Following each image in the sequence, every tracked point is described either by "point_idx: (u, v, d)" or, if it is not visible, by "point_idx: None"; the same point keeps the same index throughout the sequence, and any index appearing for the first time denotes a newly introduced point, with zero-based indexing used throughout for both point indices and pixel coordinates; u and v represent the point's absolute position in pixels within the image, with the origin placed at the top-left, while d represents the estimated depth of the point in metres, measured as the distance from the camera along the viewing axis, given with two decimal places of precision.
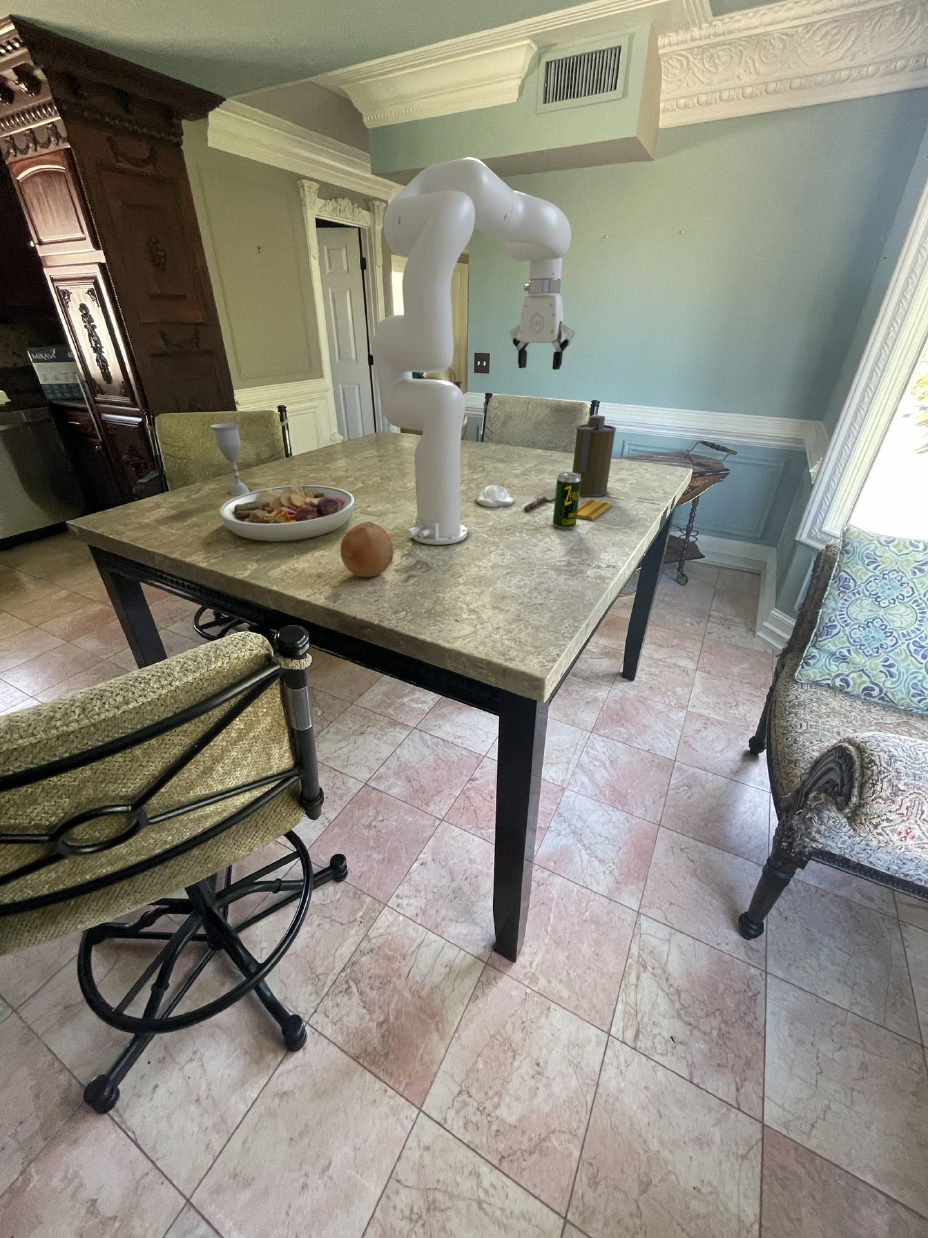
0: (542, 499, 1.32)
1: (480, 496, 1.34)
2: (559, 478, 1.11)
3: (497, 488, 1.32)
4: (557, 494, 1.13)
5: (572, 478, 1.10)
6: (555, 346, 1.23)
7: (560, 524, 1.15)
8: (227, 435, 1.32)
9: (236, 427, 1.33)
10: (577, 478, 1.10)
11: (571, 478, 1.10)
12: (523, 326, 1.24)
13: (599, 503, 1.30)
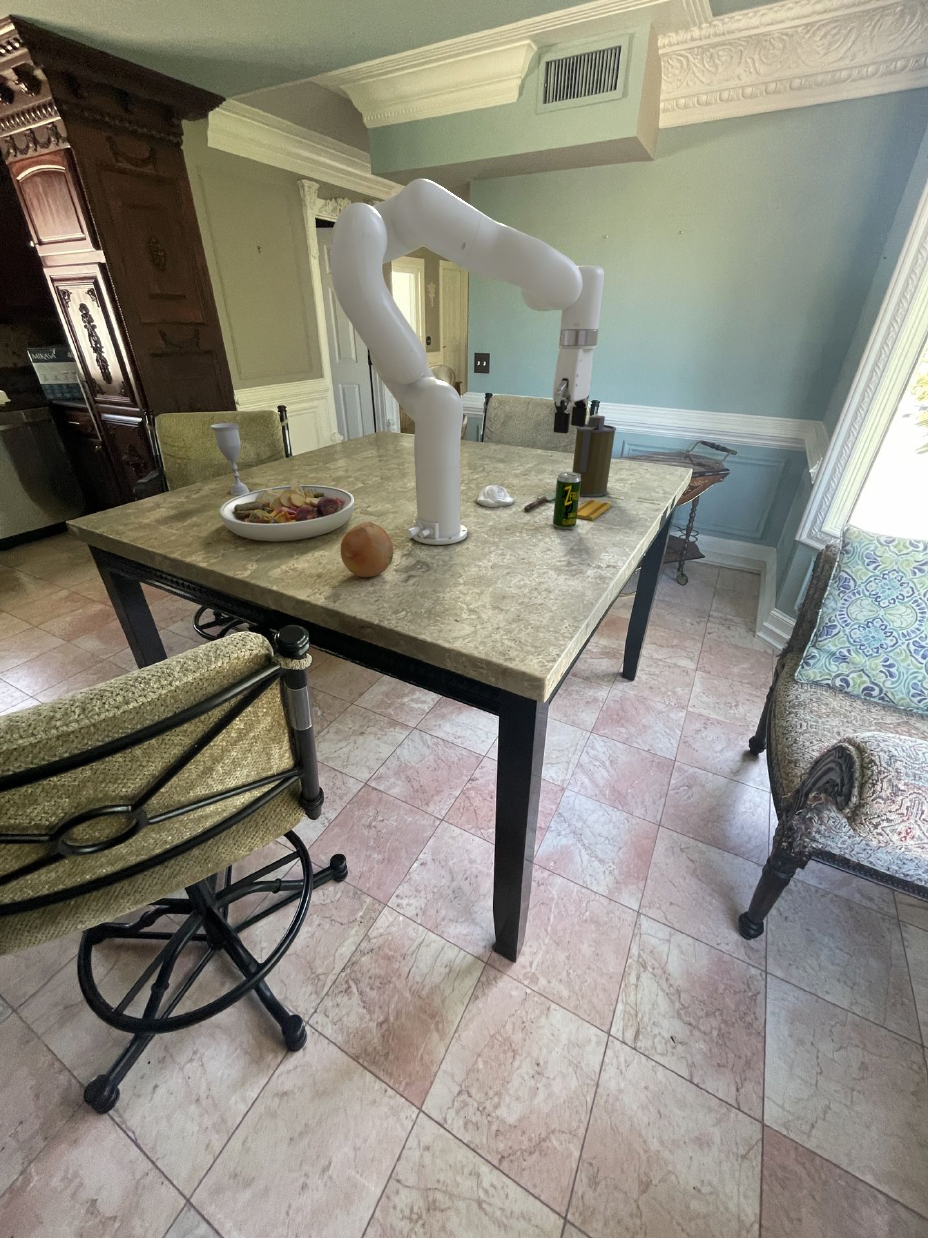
0: (542, 499, 1.32)
1: (480, 496, 1.34)
2: (559, 478, 1.11)
3: (497, 488, 1.32)
4: (557, 494, 1.13)
5: (572, 478, 1.10)
6: None
7: (560, 524, 1.15)
8: (227, 435, 1.32)
9: (236, 427, 1.33)
10: (577, 478, 1.10)
11: (571, 478, 1.10)
12: None
13: (599, 503, 1.30)
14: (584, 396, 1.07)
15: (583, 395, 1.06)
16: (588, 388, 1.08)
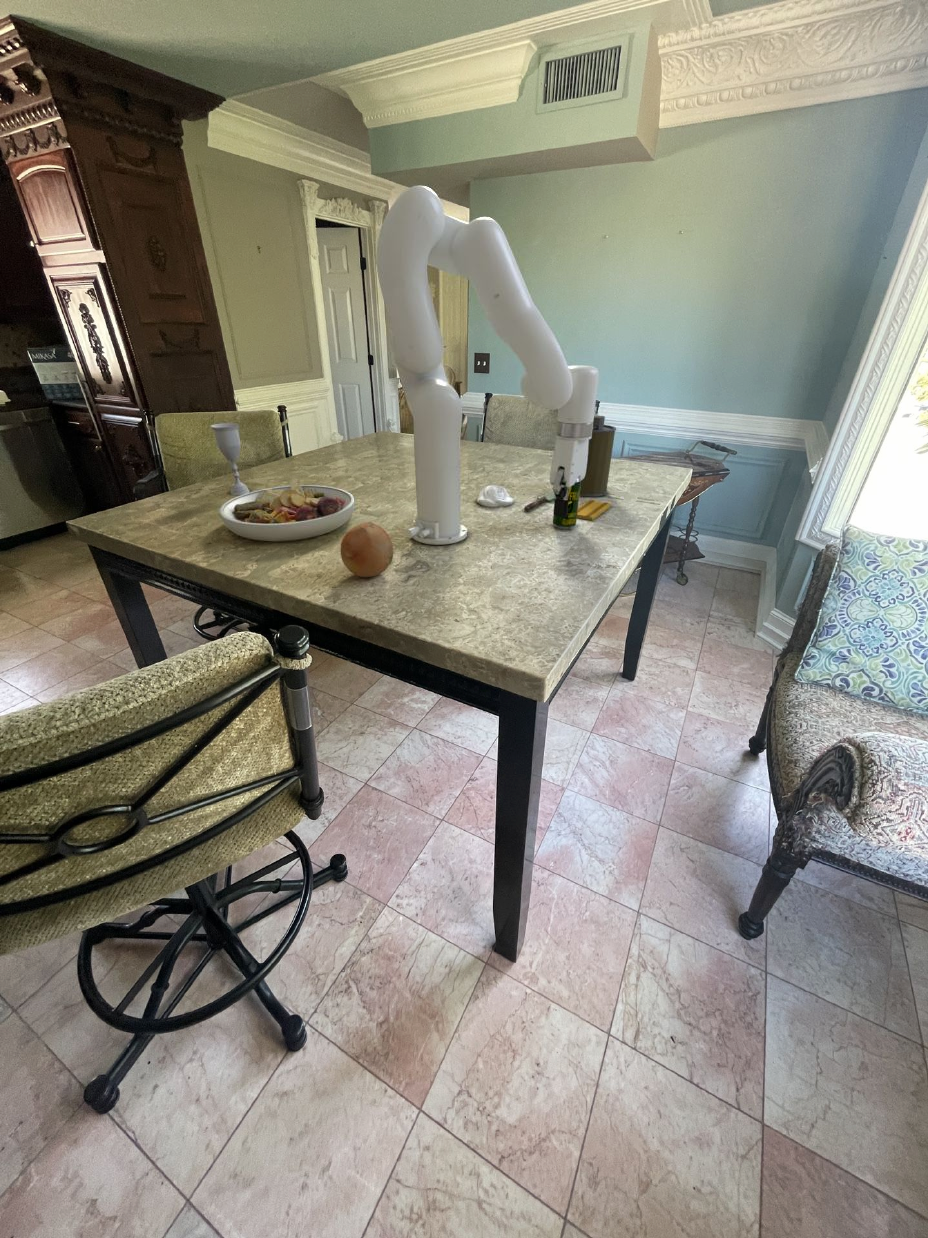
0: (542, 499, 1.32)
1: (480, 496, 1.34)
2: None
3: (497, 488, 1.32)
4: None
5: None
6: None
7: (560, 524, 1.15)
8: (227, 435, 1.32)
9: (236, 427, 1.33)
10: (577, 478, 1.10)
11: None
12: None
13: (599, 503, 1.30)
14: None
15: None
16: (584, 471, 1.13)
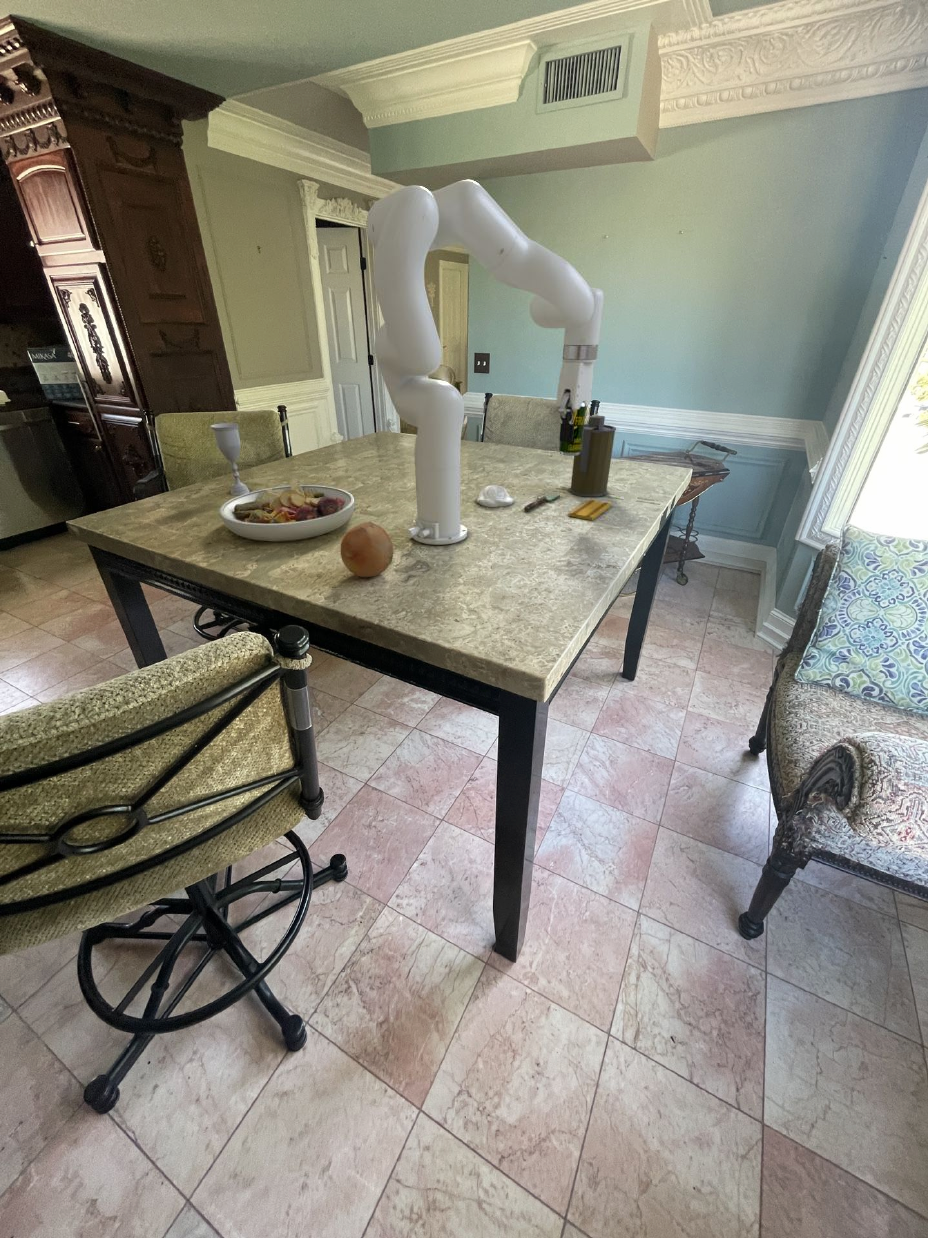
0: (542, 499, 1.32)
1: (480, 496, 1.34)
2: None
3: (497, 488, 1.32)
4: None
5: None
6: None
7: (566, 450, 1.19)
8: (227, 435, 1.32)
9: (236, 427, 1.33)
10: (582, 402, 1.14)
11: None
12: None
13: (599, 503, 1.30)
14: None
15: None
16: (589, 398, 1.17)
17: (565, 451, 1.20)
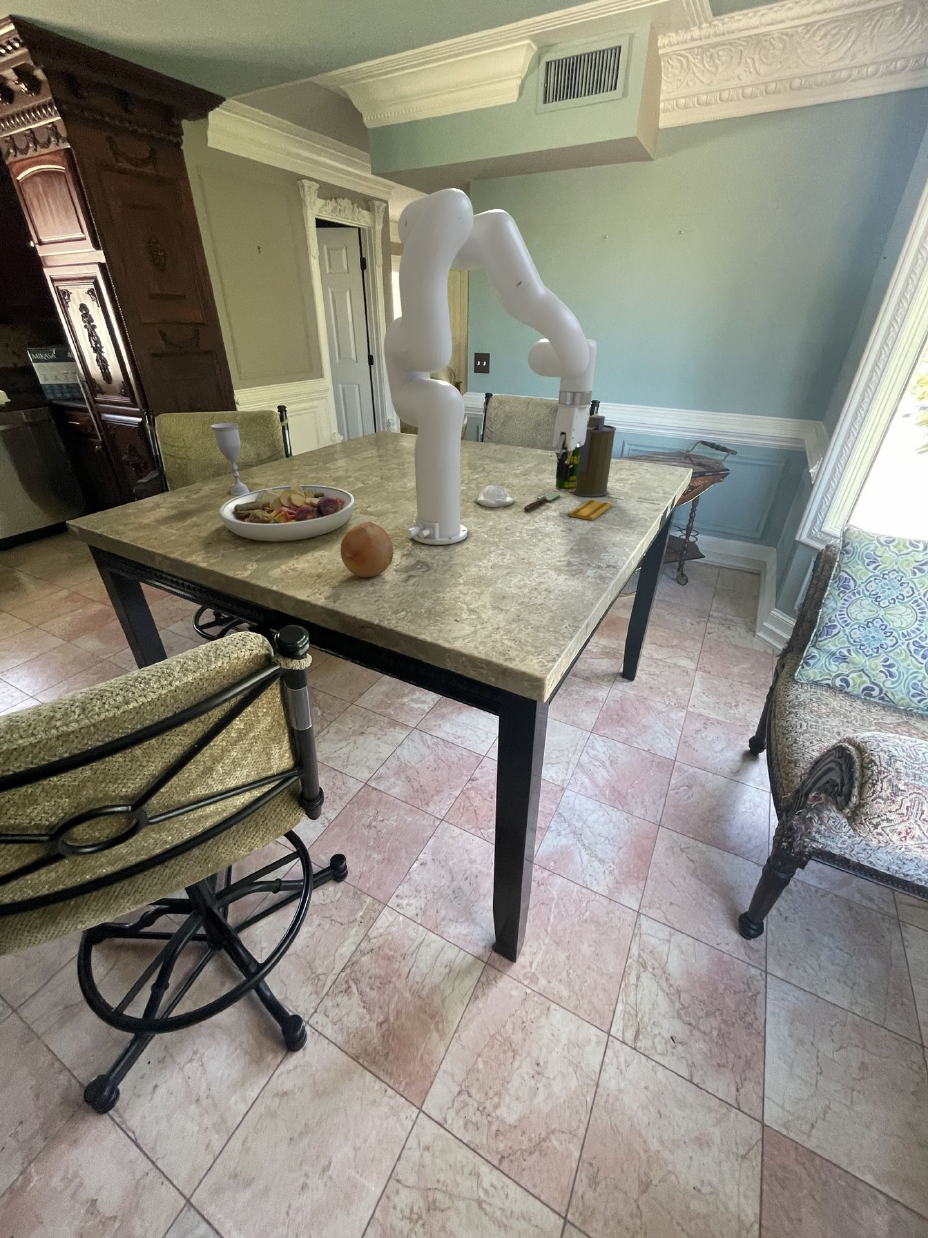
0: (542, 499, 1.32)
1: (480, 496, 1.34)
2: None
3: (497, 488, 1.32)
4: None
5: None
6: None
7: (562, 487, 1.26)
8: (227, 435, 1.32)
9: (236, 427, 1.33)
10: (578, 443, 1.21)
11: None
12: None
13: (599, 503, 1.30)
14: None
15: None
16: (584, 438, 1.24)
17: (561, 488, 1.26)
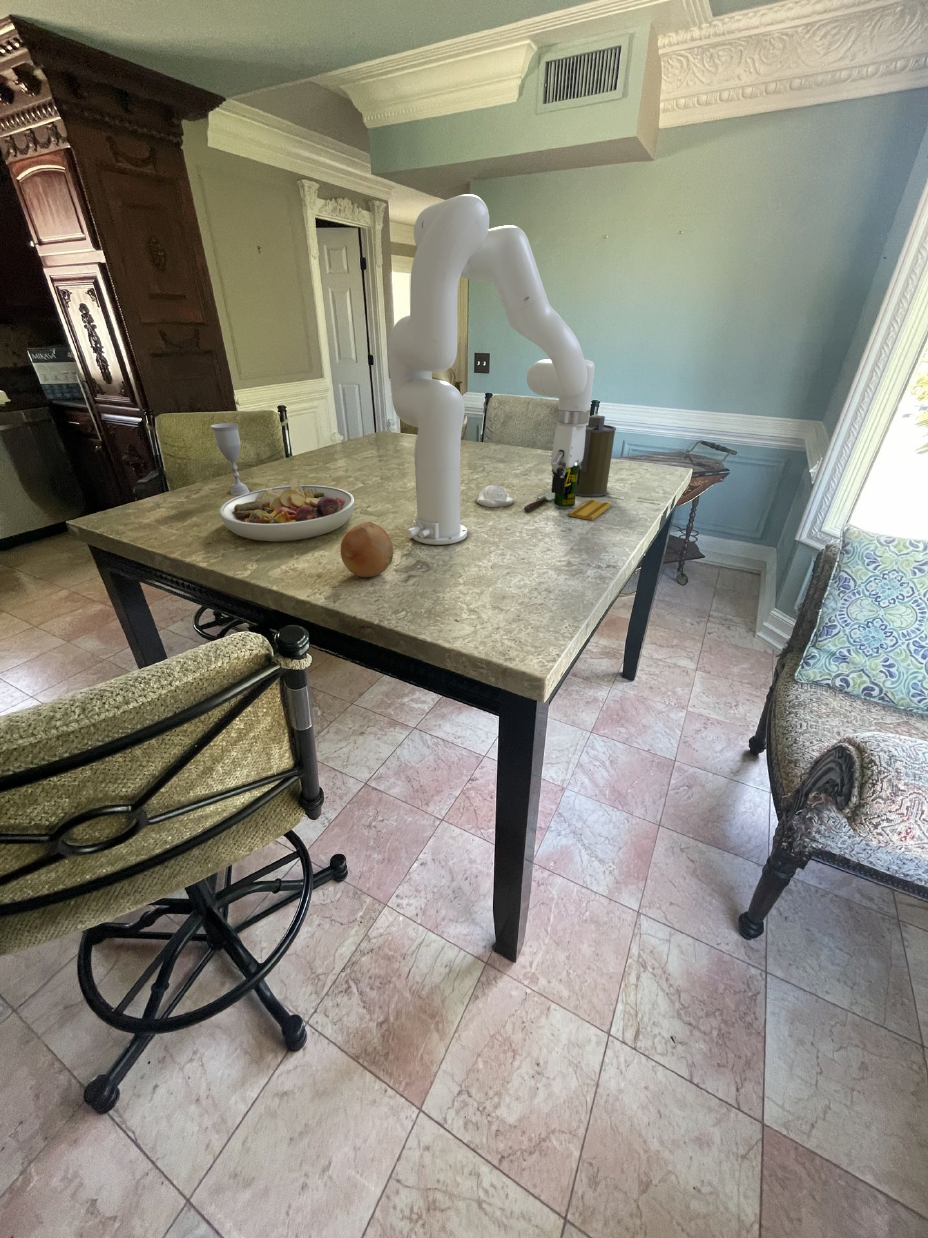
0: (542, 499, 1.32)
1: (480, 496, 1.34)
2: None
3: (497, 488, 1.32)
4: None
5: None
6: None
7: (560, 504, 1.28)
8: (227, 435, 1.32)
9: (236, 427, 1.33)
10: (575, 462, 1.23)
11: None
12: None
13: (599, 503, 1.30)
14: None
15: None
16: (582, 455, 1.26)
17: (559, 505, 1.28)
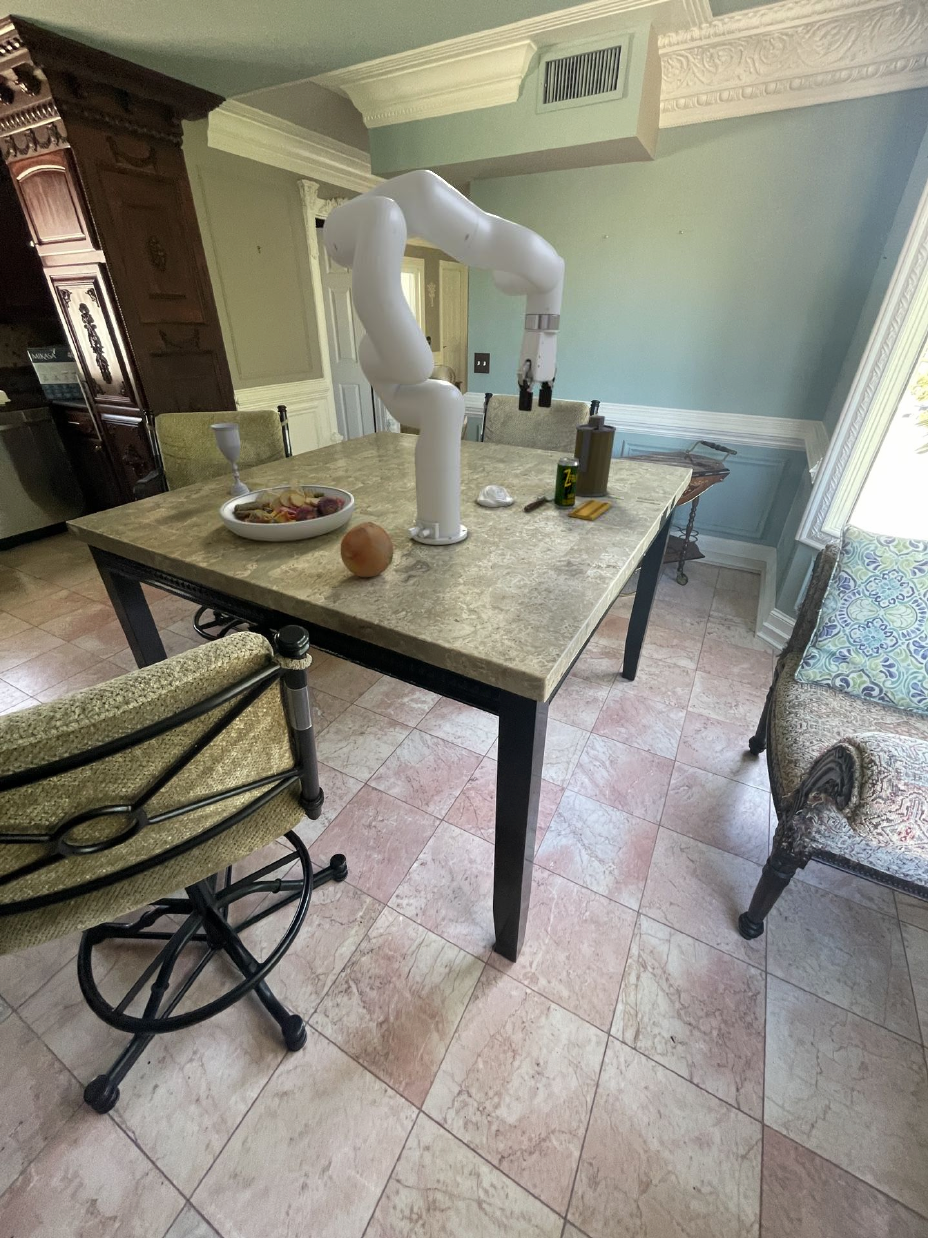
0: (542, 499, 1.32)
1: (480, 496, 1.34)
2: (559, 462, 1.24)
3: (497, 488, 1.32)
4: (558, 477, 1.26)
5: (571, 462, 1.23)
6: None
7: (560, 504, 1.28)
8: (227, 435, 1.32)
9: (236, 427, 1.33)
10: (575, 462, 1.23)
11: (570, 462, 1.23)
12: None
13: (599, 503, 1.30)
14: (548, 378, 1.15)
15: (547, 377, 1.14)
16: (553, 371, 1.16)
17: (559, 505, 1.28)
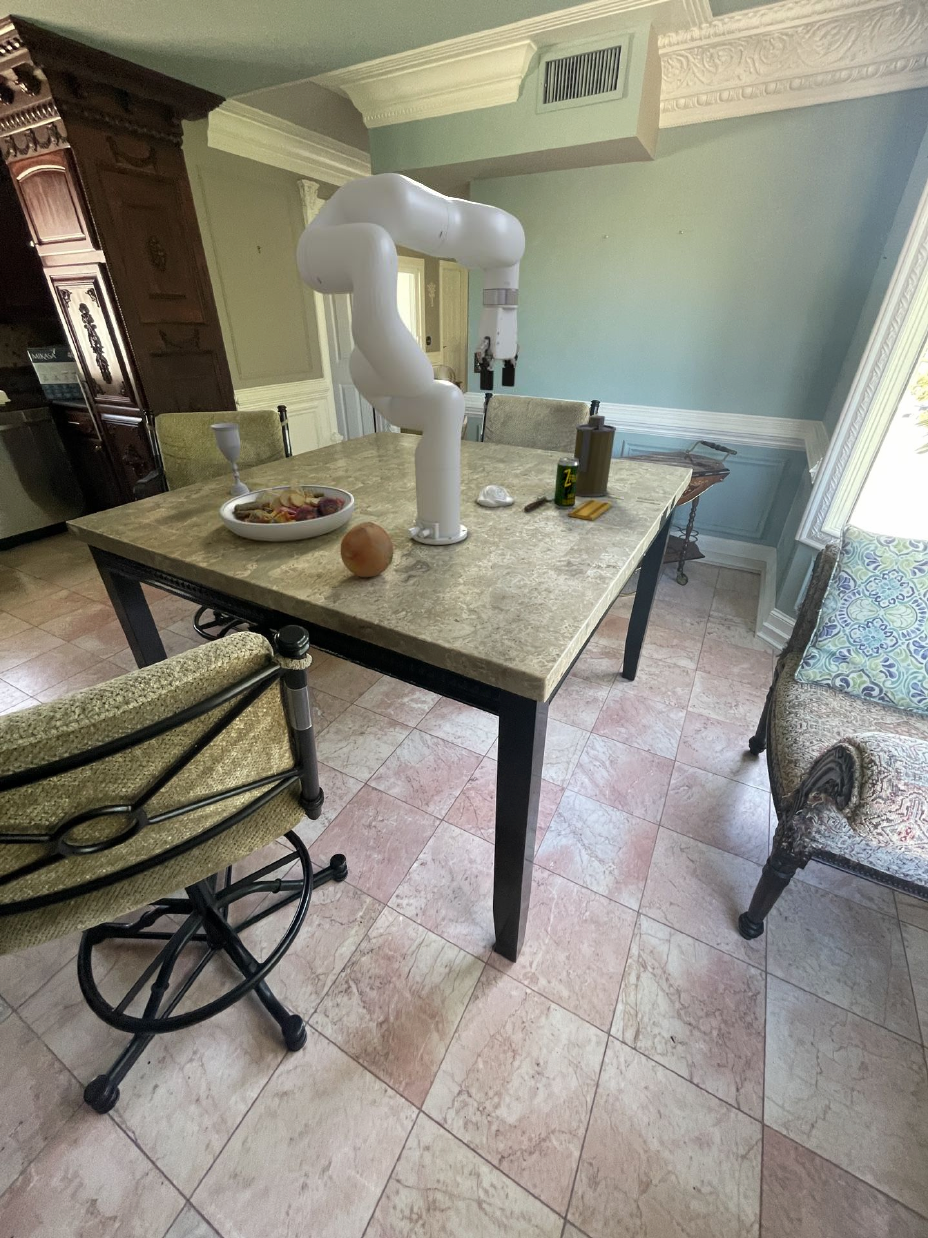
0: (542, 499, 1.32)
1: (480, 496, 1.34)
2: (559, 462, 1.24)
3: (497, 488, 1.32)
4: (558, 477, 1.26)
5: (571, 462, 1.23)
6: None
7: (560, 504, 1.28)
8: (227, 435, 1.32)
9: (236, 427, 1.33)
10: (575, 462, 1.23)
11: (570, 462, 1.23)
12: None
13: (599, 503, 1.30)
14: (509, 355, 1.12)
15: (508, 354, 1.12)
16: (514, 348, 1.13)
17: (559, 505, 1.28)
